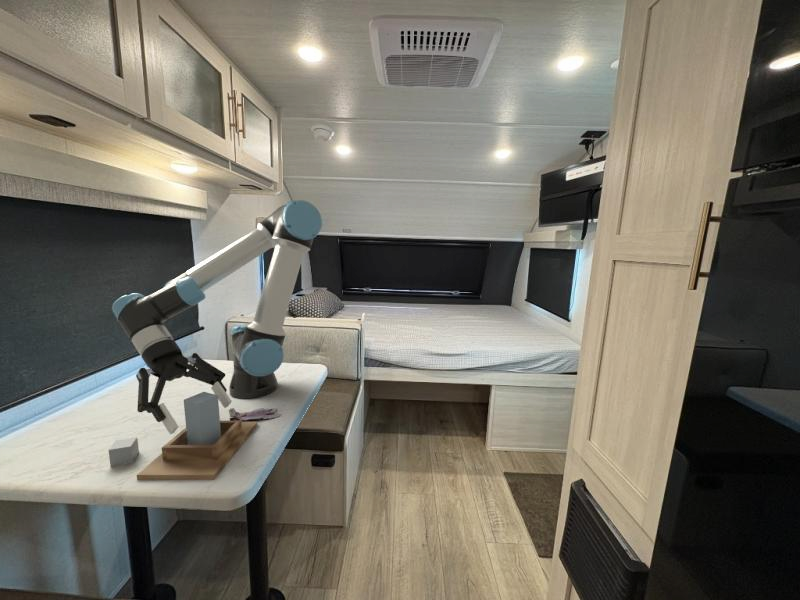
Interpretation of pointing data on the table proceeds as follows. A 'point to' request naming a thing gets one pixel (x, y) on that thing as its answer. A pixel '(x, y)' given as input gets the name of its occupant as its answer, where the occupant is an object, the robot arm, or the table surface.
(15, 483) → the table surface
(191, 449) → the tray
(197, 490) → the table surface
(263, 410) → the pink elongated piece
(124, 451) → the grey block
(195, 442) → the block
